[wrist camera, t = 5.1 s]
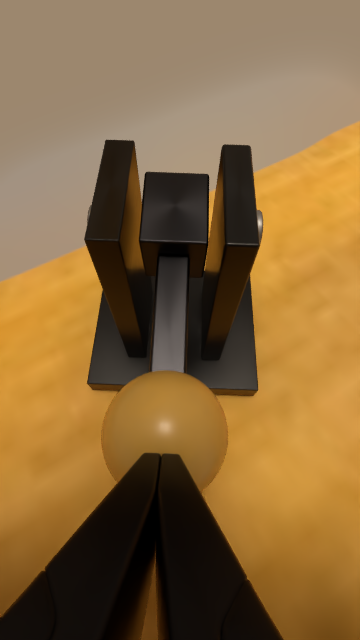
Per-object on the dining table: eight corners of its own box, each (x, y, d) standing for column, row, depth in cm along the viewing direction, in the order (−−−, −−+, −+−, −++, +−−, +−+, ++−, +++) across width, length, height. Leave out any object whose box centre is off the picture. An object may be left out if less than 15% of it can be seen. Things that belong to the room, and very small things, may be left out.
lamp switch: (220, 494, 11) (240, 522, 7) (108, 489, 11) (75, 515, 7) (219, 227, 14) (232, 159, 11) (135, 223, 14) (121, 155, 11)
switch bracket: (253, 395, 18) (342, 296, 8) (91, 389, 18) (-4, 283, 9) (246, 282, 21) (304, 118, 12) (109, 277, 22) (56, 109, 12)
